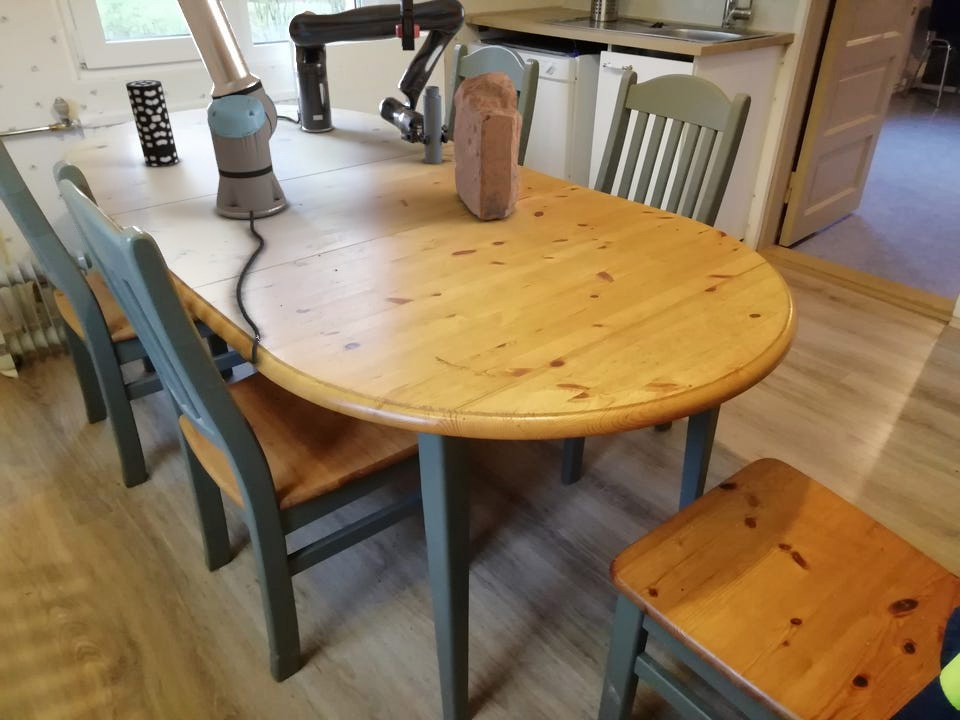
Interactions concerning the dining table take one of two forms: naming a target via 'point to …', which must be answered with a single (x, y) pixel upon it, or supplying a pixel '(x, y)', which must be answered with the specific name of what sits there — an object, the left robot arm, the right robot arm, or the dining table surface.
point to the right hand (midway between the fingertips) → (436, 140)
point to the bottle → (432, 124)
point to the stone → (487, 145)
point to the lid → (399, 31)
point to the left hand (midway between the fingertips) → (408, 48)
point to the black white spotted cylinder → (152, 122)
